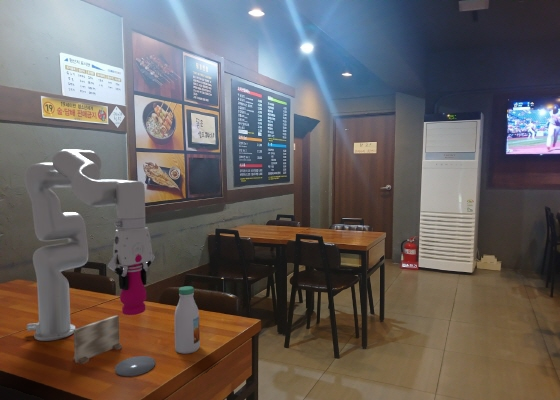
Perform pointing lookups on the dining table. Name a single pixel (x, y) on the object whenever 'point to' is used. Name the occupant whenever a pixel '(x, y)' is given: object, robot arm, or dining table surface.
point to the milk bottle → (186, 322)
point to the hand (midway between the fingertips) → (133, 286)
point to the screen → (96, 339)
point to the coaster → (135, 366)
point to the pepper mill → (134, 291)
